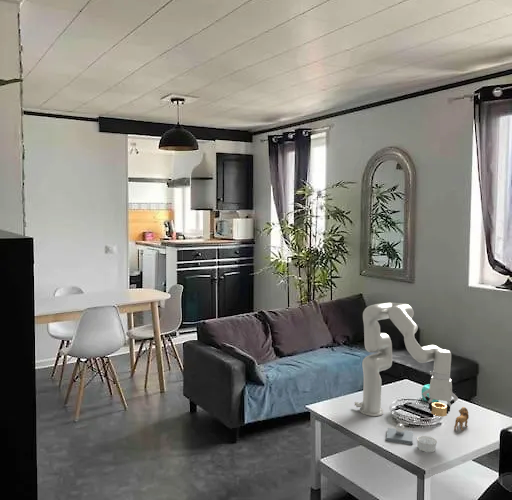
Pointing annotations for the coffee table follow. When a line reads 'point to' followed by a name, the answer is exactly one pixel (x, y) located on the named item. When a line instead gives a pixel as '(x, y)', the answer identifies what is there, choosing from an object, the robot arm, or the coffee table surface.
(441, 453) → the coffee table surface
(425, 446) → the ramekin
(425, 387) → the decorative dice
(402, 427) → the steel post
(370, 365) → the robot arm
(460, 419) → the lion figurine
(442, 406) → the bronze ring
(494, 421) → the coffee table surface
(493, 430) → the coffee table surface
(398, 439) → the stand base
